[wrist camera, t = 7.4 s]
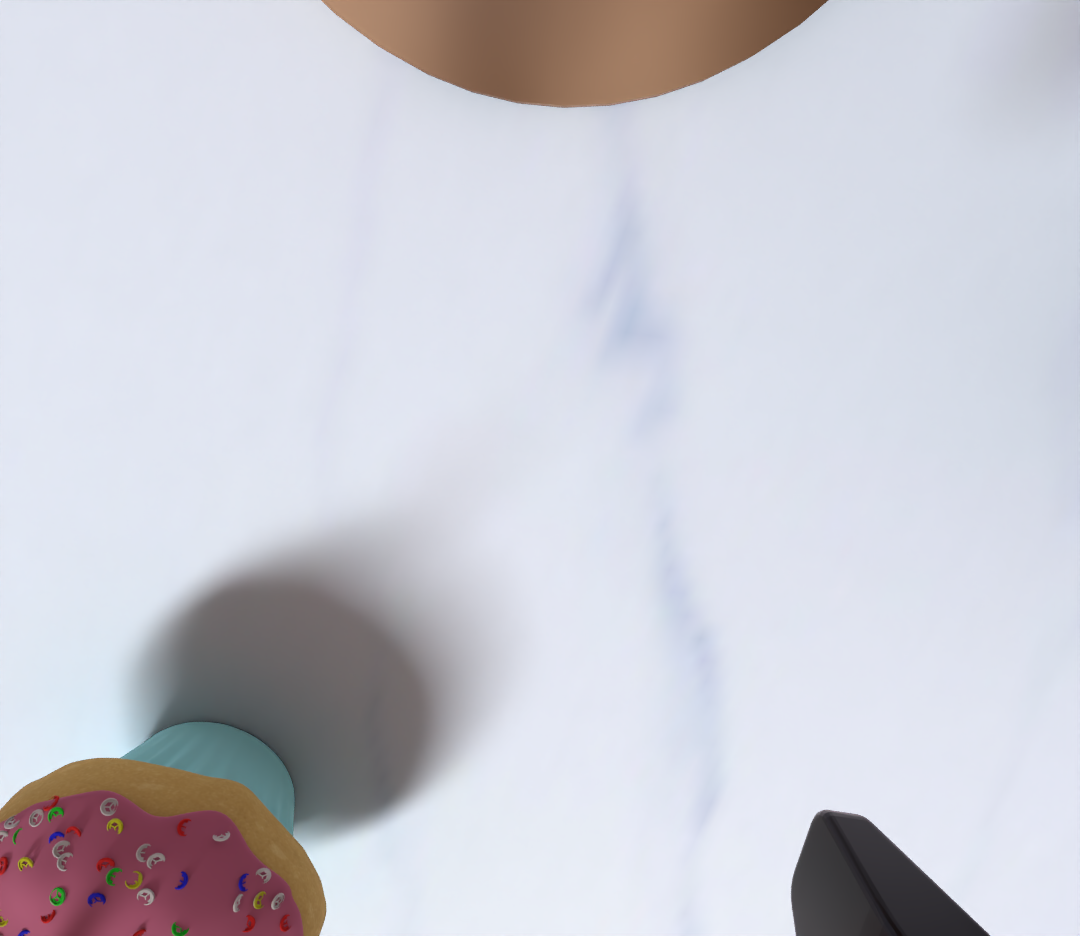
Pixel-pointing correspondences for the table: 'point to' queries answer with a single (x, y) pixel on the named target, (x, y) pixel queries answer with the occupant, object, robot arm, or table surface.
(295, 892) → the cupcake
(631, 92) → the walnut board
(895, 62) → the table surface
